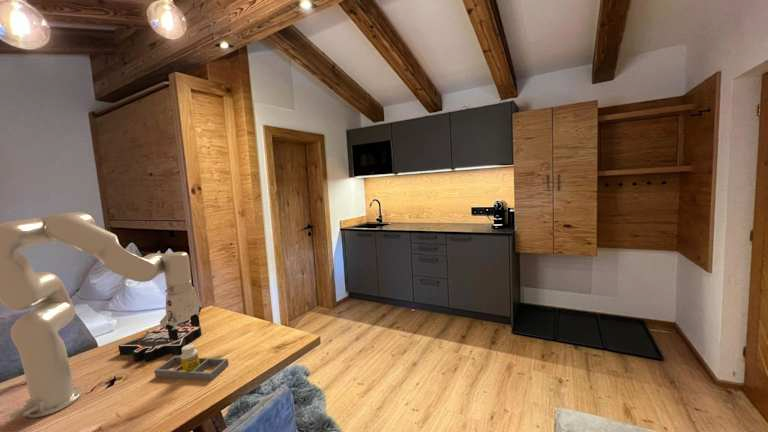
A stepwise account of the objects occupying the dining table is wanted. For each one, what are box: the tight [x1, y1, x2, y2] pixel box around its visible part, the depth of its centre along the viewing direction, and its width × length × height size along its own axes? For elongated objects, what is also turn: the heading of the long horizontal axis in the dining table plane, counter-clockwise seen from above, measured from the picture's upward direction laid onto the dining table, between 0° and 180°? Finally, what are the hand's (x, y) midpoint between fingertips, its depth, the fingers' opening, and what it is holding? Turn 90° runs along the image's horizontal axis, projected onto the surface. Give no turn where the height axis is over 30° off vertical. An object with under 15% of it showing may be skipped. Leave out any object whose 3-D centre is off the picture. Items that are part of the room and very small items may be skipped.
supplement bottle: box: [180, 343, 200, 371], centre depth 113 cm, size 5×5×10 cm
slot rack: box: [153, 355, 230, 382], centre depth 114 cm, size 9×23×3 cm, turn 80°
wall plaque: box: [118, 318, 203, 363], centre depth 137 cm, size 28×4×30 cm
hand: (185, 332), depth 112 cm, fingers open, 9 cm apart
